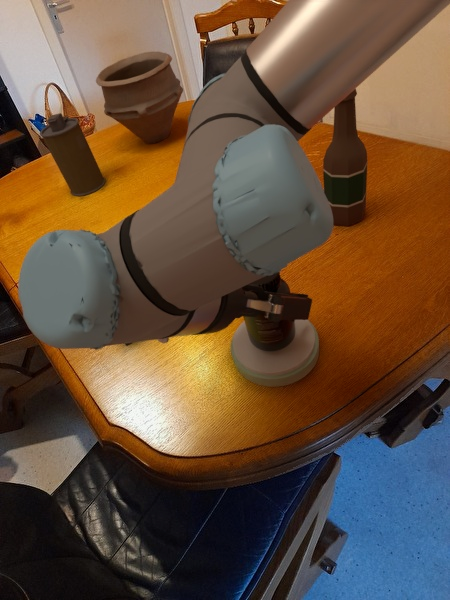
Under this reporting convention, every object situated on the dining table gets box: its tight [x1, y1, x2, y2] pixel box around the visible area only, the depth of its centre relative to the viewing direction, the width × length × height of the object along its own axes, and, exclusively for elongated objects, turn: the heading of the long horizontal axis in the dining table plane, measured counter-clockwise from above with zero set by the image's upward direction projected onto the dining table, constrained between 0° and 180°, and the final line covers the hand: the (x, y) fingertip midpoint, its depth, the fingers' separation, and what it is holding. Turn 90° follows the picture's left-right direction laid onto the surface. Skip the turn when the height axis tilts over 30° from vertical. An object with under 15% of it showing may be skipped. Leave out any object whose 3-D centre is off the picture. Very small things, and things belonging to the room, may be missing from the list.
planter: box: [95, 51, 184, 144], centre depth 124 cm, size 25×24×22 cm
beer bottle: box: [322, 88, 368, 227], centre depth 73 cm, size 8×8×24 cm
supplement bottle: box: [242, 271, 296, 352], centre depth 54 cm, size 7×7×12 cm
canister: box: [39, 112, 106, 197], centre depth 110 cm, size 11×10×20 cm
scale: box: [230, 319, 320, 388], centre depth 60 cm, size 13×13×3 cm
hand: (278, 298), depth 58 cm, fingers closed on supplement bottle, 7 cm apart
